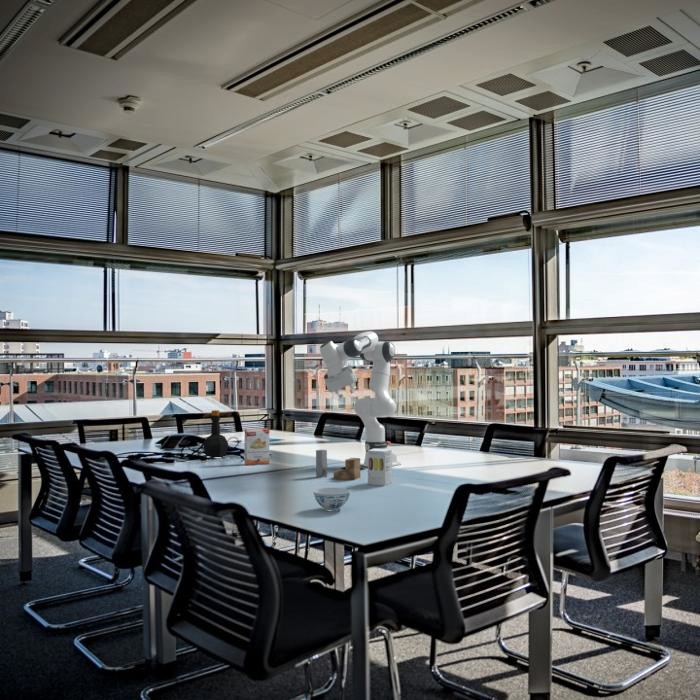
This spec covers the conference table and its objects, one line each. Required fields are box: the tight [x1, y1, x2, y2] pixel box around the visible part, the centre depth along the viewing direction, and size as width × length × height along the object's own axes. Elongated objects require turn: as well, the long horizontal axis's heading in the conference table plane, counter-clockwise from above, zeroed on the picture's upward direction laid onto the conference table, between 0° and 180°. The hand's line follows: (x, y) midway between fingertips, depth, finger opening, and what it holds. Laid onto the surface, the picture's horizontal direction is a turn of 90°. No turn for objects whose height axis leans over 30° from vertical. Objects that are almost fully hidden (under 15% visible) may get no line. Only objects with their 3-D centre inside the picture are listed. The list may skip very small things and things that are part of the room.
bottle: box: [203, 409, 229, 457], centre depth 453 cm, size 16×16×30 cm
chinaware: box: [313, 487, 351, 511], centre depth 291 cm, size 15×15×8 cm
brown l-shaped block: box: [333, 457, 361, 481], centre depth 368 cm, size 12×8×10 cm
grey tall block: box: [315, 449, 328, 478], centre depth 373 cm, size 4×4×14 cm
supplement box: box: [367, 448, 393, 487], centre depth 350 cm, size 10×9×17 cm
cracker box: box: [244, 428, 270, 466], centre depth 422 cm, size 14×6×21 cm, turn 112°
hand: (347, 395), depth 373 cm, fingers open, 8 cm apart
